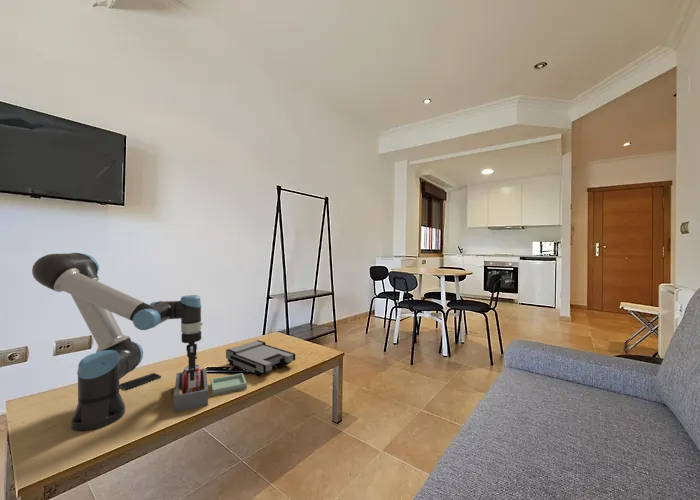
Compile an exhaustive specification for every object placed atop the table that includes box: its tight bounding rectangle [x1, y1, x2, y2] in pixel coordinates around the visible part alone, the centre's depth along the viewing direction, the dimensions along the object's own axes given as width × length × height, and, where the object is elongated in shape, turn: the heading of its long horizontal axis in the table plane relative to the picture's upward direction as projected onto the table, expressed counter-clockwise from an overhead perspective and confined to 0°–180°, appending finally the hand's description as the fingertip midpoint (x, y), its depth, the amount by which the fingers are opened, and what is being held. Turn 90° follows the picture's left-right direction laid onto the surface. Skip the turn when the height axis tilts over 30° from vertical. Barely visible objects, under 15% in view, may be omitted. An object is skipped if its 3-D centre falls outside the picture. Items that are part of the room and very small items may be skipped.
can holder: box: [173, 367, 209, 414], centre depth 127 cm, size 24×12×6 cm, turn 28°
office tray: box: [225, 339, 296, 378], centre depth 160 cm, size 21×32×8 cm, turn 54°
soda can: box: [181, 364, 202, 394], centre depth 127 cm, size 7×7×12 cm
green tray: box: [210, 372, 248, 397], centre depth 135 cm, size 14×12×2 cm
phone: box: [119, 372, 162, 391], centre depth 139 cm, size 8×1×15 cm
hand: (192, 381), depth 127 cm, fingers open, 13 cm apart
